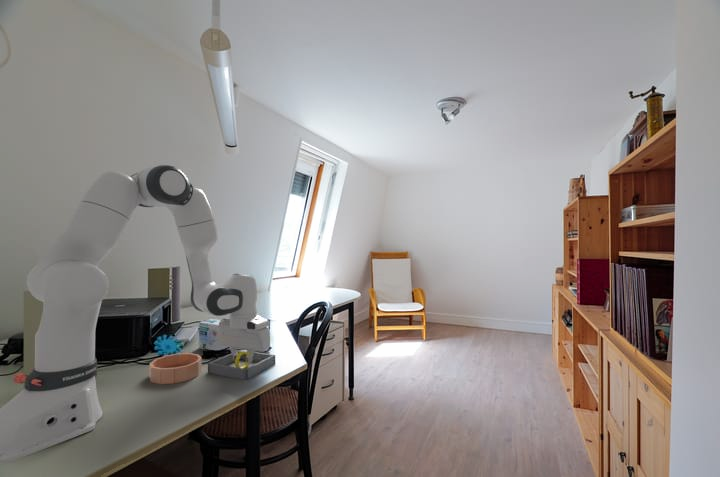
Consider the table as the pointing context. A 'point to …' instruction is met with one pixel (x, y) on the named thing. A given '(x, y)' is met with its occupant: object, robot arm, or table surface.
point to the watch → (239, 358)
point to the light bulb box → (208, 333)
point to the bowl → (175, 368)
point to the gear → (167, 345)
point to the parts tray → (222, 369)
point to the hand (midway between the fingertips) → (242, 360)
